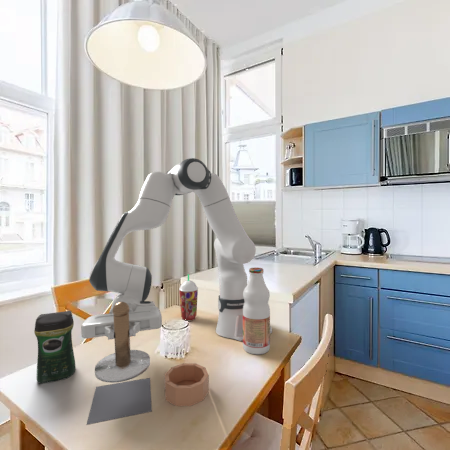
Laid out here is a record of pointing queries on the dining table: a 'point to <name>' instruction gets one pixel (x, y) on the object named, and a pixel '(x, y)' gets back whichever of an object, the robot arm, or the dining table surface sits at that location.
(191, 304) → the smoothie
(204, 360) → the dining table surface
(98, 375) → the peg on round base
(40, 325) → the coffee jar
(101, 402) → the mat
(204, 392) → the bowl
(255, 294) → the fruit juice
